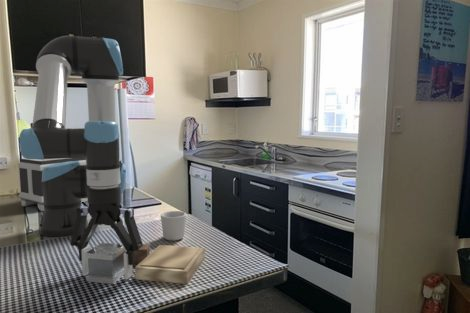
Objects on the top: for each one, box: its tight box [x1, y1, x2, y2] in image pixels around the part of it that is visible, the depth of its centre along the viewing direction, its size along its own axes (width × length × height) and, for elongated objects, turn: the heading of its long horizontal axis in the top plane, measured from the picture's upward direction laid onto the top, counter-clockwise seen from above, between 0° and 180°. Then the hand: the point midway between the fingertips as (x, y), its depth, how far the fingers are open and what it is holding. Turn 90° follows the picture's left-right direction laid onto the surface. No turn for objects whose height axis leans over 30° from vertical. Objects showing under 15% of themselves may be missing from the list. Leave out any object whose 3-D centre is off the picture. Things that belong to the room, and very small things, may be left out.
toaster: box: [17, 157, 88, 212], centre depth 162 cm, size 18×34×21 cm, turn 147°
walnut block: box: [133, 243, 151, 265], centre depth 95 cm, size 4×4×4 cm
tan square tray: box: [134, 244, 206, 285], centre depth 90 cm, size 13×15×3 cm
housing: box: [85, 242, 126, 285], centre depth 86 cm, size 7×7×7 cm
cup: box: [160, 210, 187, 241], centre depth 114 cm, size 11×8×8 cm
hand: (107, 275), depth 86 cm, fingers open, 10 cm apart
